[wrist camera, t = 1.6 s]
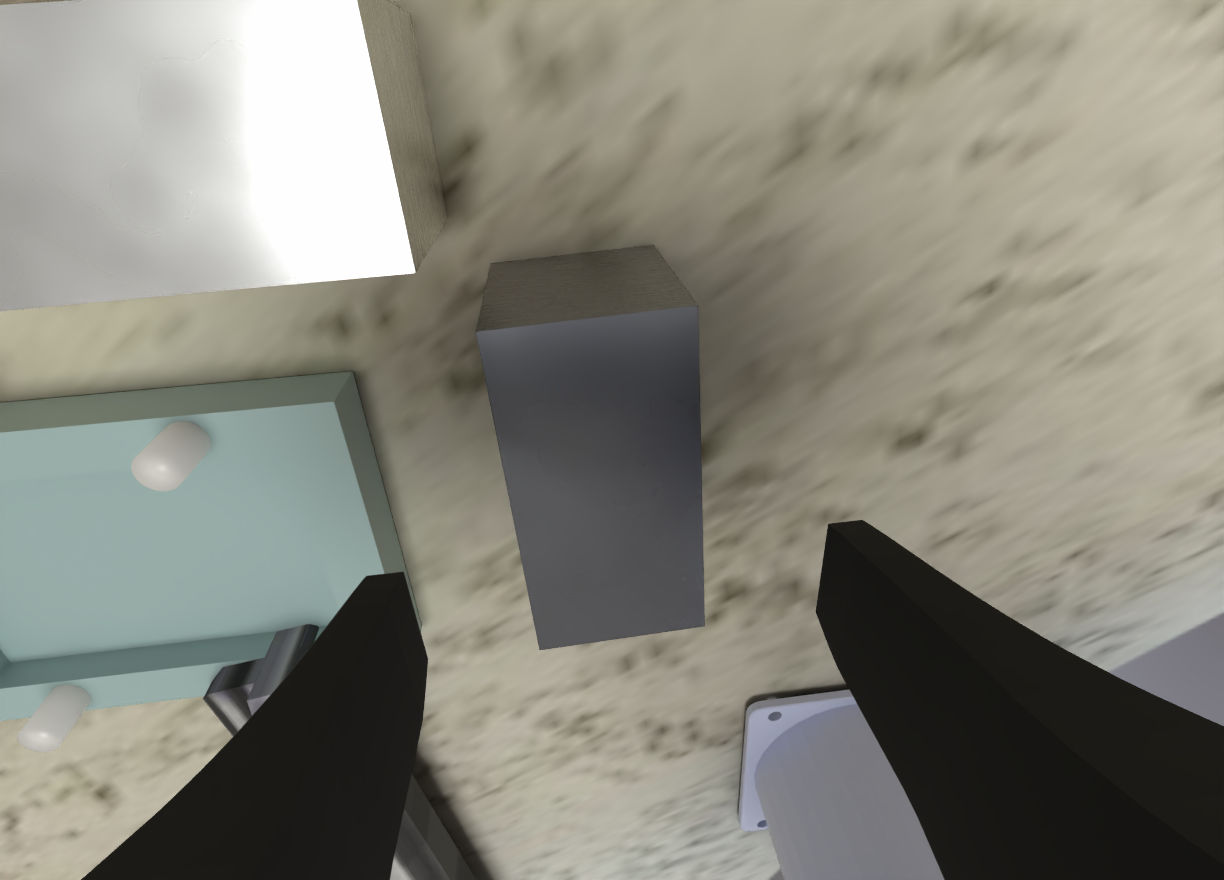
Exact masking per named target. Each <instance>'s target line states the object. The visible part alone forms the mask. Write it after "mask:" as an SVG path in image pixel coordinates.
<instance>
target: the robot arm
mask: <svg viewBox="0 0 1224 880" xmlns="http://www.w3.org/2000/svg"><path fill="white" fill-rule="evenodd" d="M816 614H817V616H818V619H819V622H820V624H821V627H822V630H823V632H824V635H825V638H826V640H827V643H828V645H829V648H830V650H831V653H832V655H833V658H834V660H835V663H836V665H837V667H838V669H839V671H840V673H841V675H842V677H843V679H844V681H845V682H846V684H847V686H848V688H849V690H841V691H833V692H826V693H818V694H810V695H803V696H795V697H787V698H780V699H772V700H764V701H758V702H755V703H753V704H751V705H750V706H749V707H748V708H747V711H746V721H745V734H744V748H743V761H742V774H741V787H740V800H739V814H738V820H739V824H740V828H741V829H742V830H744V831H747V832H750V831H758V830H765V829H769V832H770V836H771V839H772V842H773V845H774V848H775V851H776V855H777V858H778V861H779V864H780V867H781V870H782V873H783V877H784V880H1224V726H1221V725H1219V724H1217V723H1215V722H1212V721H1210V720H1208V719H1206V718H1203V717H1201V716H1199V715H1197V714H1194V713H1193V712H1190V711H1188V710H1186V709H1183V708H1181V707H1179V706H1177V705H1175V704H1173V703H1170V702H1168V701H1166V700H1164V699H1162V698H1159V697H1157V696H1155V695H1153V694H1151V693H1149V692H1147V691H1145V690H1143V689H1140V688H1138V687H1136V686H1134V685H1132V684H1130V683H1128V682H1126V681H1124V680H1122V679H1120V678H1118V677H1116V676H1114V675H1112V674H1110V673H1109V672H1107V671H1105V670H1103V669H1101V668H1099V667H1097V666H1095V665H1093V664H1091V663H1089V662H1087V661H1086V660H1084V659H1082V658H1080V657H1078V656H1076V655H1074V654H1072V653H1070V652H1068V651H1067V650H1065V649H1063V648H1061V647H1059V646H1058V645H1056V644H1054V643H1052V642H1051V641H1049V640H1047V639H1045V638H1044V637H1042V636H1040V635H1038V634H1037V633H1035V632H1033V631H1032V630H1030V629H1028V628H1027V627H1025V626H1023V625H1022V624H1020V623H1018V622H1017V621H1015V620H1013V619H1012V618H1010V617H1008V616H1007V615H1005V614H1003V613H1002V612H1000V611H999V610H997V609H995V608H994V607H992V606H991V605H989V604H987V603H986V602H984V601H983V600H981V599H980V598H978V597H976V596H975V595H973V594H972V593H970V592H969V591H967V590H966V589H964V588H963V587H961V586H960V585H958V584H957V583H955V582H954V581H952V580H951V579H949V578H948V577H946V576H945V575H943V574H942V573H940V572H939V571H937V570H936V569H934V568H933V567H931V566H930V565H929V564H927V563H926V562H924V561H923V560H921V559H920V558H918V557H917V556H915V555H914V554H913V553H911V552H910V551H908V550H907V549H905V548H904V547H902V546H901V545H899V544H898V543H897V542H895V541H894V540H892V539H891V538H889V537H888V536H886V535H885V534H883V533H882V532H880V531H879V530H877V529H876V528H874V527H873V526H871V525H870V524H868V523H867V522H865V521H863V520H858V521H849V522H840V523H832V524H828V529H827V536H826V543H825V550H824V557H823V565H822V572H821V579H820V586H819V593H818V600H817V607H816ZM427 665H428V658H427V654H426V650H425V647H424V643H423V639H422V636H421V632H420V629H419V625H418V621H417V618H416V614H415V610H414V607H413V603H412V600H411V596H410V592H409V589H408V585H407V581H406V578H405V574H404V572H396V573H387V574H378V575H369V576H366V577H365V578H364V579H363V580H362V581H361V582H360V584H359V585H358V586H357V587H356V589H355V590H354V591H353V593H352V594H351V595H350V596H349V598H348V599H347V600H346V602H345V603H344V604H343V606H342V607H341V608H340V609H339V611H338V612H337V613H336V615H335V616H334V617H333V619H332V620H331V621H330V622H329V624H328V625H327V626H326V628H325V629H324V630H323V631H322V633H321V634H320V635H319V637H318V638H317V639H316V640H315V642H314V643H313V644H312V645H311V647H310V648H309V649H308V650H307V652H306V653H305V654H304V655H303V656H302V658H301V659H300V660H299V661H298V663H297V664H296V665H295V666H294V667H293V669H292V670H291V671H290V672H289V674H288V675H287V676H286V677H285V679H284V680H283V681H282V682H281V683H280V685H279V686H278V687H277V688H276V689H275V690H274V692H273V693H272V694H271V695H270V696H269V697H268V698H267V699H266V701H265V702H264V703H263V704H262V705H261V706H260V707H259V708H258V710H257V711H256V712H255V713H254V714H253V715H252V716H251V717H250V719H249V720H248V721H247V722H246V723H245V724H244V725H243V726H242V728H241V729H240V730H239V731H238V732H237V733H236V734H235V735H234V737H233V738H232V739H231V740H230V741H229V742H228V743H227V744H226V745H225V746H224V747H223V748H222V749H221V750H220V751H219V752H218V753H217V755H216V756H215V757H214V758H213V759H212V760H211V761H210V762H209V763H208V764H207V765H206V766H205V767H204V768H203V769H202V770H201V771H200V772H199V773H198V774H197V775H196V776H195V777H194V778H193V779H192V780H191V781H190V782H189V783H188V784H187V785H186V786H185V787H184V788H182V789H181V790H180V791H179V792H178V793H177V794H176V795H175V796H174V797H173V798H172V799H171V800H170V801H169V802H168V803H167V804H166V805H165V806H164V807H163V808H162V809H161V810H159V811H158V812H157V813H156V814H155V815H154V816H153V817H152V818H151V819H149V820H148V821H147V822H146V823H145V824H144V825H143V826H142V827H140V828H139V829H138V830H137V831H136V832H135V833H134V834H132V835H131V836H130V837H129V838H128V839H127V840H126V841H125V842H123V843H122V844H121V845H120V846H119V847H118V848H117V849H115V850H114V851H113V852H112V853H111V854H110V855H109V856H108V857H106V858H105V859H104V860H103V861H102V862H101V863H100V864H98V865H97V866H96V867H95V868H94V869H93V870H92V871H91V872H89V873H88V874H87V875H86V876H85V877H84V878H82V879H81V880H390V877H391V871H392V865H393V859H394V855H395V850H396V845H397V840H398V836H399V831H400V826H401V822H402V817H403V812H404V807H405V803H406V798H407V793H408V788H409V784H410V779H411V774H412V769H413V765H414V760H415V755H416V750H417V745H418V740H419V735H420V730H421V725H422V720H423V711H424V701H425V691H426V678H427Z"/></svg>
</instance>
